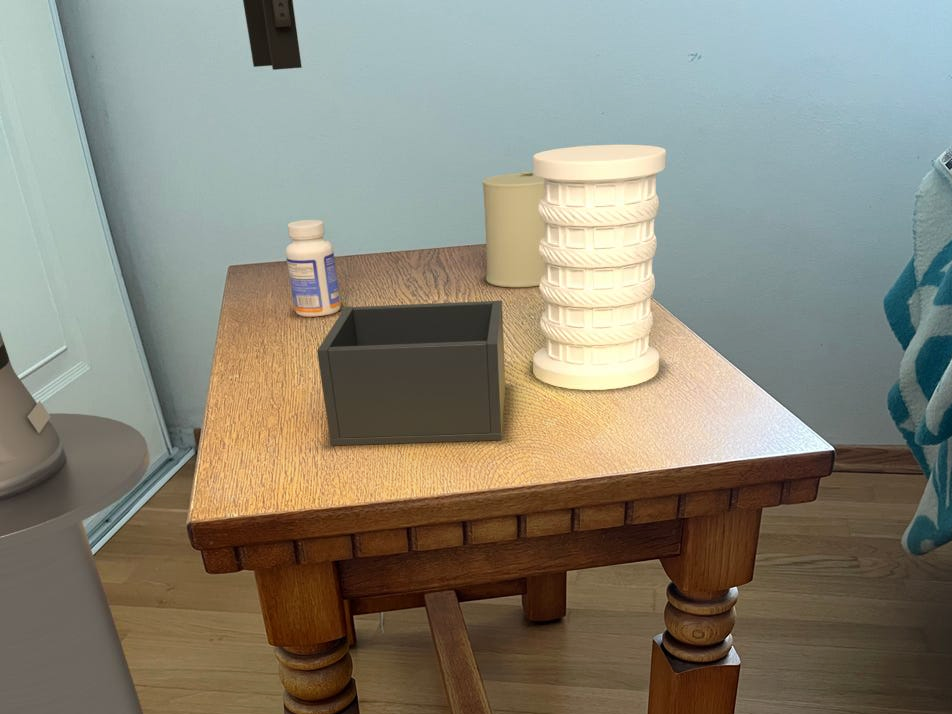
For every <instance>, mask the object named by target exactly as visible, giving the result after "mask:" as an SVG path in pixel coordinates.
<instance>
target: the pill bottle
mask: <svg viewBox="0 0 952 714" xmlns="http://www.w3.org/2000/svg"><path fill="white" fill-rule="evenodd" d="M287 231H288V232H287V233H288V236H289V239H290V240H291V243H289V244H288V245H287V246H286V248H285V257H286V264H287V265H286V266H287V271H288V276H289V283H290V289H291V295H292V302H293V307H294V310H295V313H296V314H297V315H298V316H301V317H305V318H308V317H309V318H313V317H314V318H316V317H325V316H329V315H333V314H335V313H337V312H339V311H340V309H341V296H340V290H339V283H338V275H337V267H336V261H335V254H334V248H333V245H332V244H331V242H330V241H328V240H325V239H324V237H325V233H326V231H325V226H324V222H323V221H322V220H321V219H301V220H295V221H292V222H289V223H288V224H287Z"/></svg>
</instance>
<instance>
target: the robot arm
mask: <svg viewBox="0 0 952 714" xmlns="http://www.w3.org/2000/svg"><path fill="white" fill-rule="evenodd" d="M242 3H243V8H244V15H245V22H246V28H247V36H248V40H249V41H248V42H249V46H250V53H251V58H252V65H253V68H257V67H258V68H259V67H271V69H272V70H273V71H276V70H289V69H290V70H291V69H302V68H303V66H302V60H301V51H300V45H299V37H298V29H297V23H296V22H297V21H296V16H295V8H294V1H293V0H242ZM1 332H2V331H0V501H1V500H4V499H7V498H9V497H12V496H15V495H17V494H20V493H22V492H25V491H27V490H29V489H31V488H33V487H35V486H37V485H39V484H41V483H42V482H44V481H46V480H47V479H49V478H50V477H51V476H53V475H54V474H55V473H56V472H57V471H58V470H59V469H60V468H61V467H62V465H63V464H64V462H65V458H66V457H65V452H64V449H63V446H62V443H61V440H60V437H59V435H58V434H57V432H56V430H55V428H54V426H53V425H52V424H51V423H50V422H49V418H50V415H49V414H50V413H49V412H48V410H47V409H46V408H45V406H44V405H43V403H42V402H41V400H39V401H38V402H37V401H36V400H35V397H33V396H32V394H31V393H30V391H29V390H28V389H27V387H26V386H25V384H24V383H23V382H22V380H21V378H20V377H19V376H18V374H17V373H16V372H15V370H14V367H13V365H12V363H11V360H10V357H9V353H8V350H7V348H6V345H5V342H4V339H3V335H2V333H1Z"/></svg>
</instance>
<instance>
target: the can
mask: <svg viewBox="0 0 952 714" xmlns="http://www.w3.org/2000/svg"><path fill="white" fill-rule="evenodd" d="M482 189H483V191H482V192H483V201H484V202H483V205H484V223H485V224H484V225H485V226H484V227H485V244H486V245H485V246H486V278H485V279H486V282H487V283H488V284H490V285H493V286H496V287H502V288H531V287H540V282H541V278H542V276H544V275H545V262H544V261H543V260H542V259H541V258H540V252H539V245H540V241H541V238H543V237H544V236H545V231H544V221H542V220H541V219H540V215H539V211H538V206H539V202H540V199H541V198H543V197H544V178H541V177H538V176H536V175H535V174H534V172H533V171H520V173H519V172H517V173H505V174H499V175H494V176H489V177H486V178H484V179H483V180H482Z"/></svg>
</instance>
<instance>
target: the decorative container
mask: <svg viewBox="0 0 952 714" xmlns="http://www.w3.org/2000/svg"><path fill="white" fill-rule="evenodd" d="M666 157H667V151H666V148H663V147H661V146H656V145H648V144H647V145H646V144H593V145H592V144H591V145H581V146H580V145H579V146H570V147H561V148H554V149H549V150H544V151H539V152H537V153H535V154H534V155H533V157H532V162H533V163H532V165H533V166H532V168H533V169H532V170H533V173H534V174H535V175H536V176H538V177H541V178H544V197H543V198H541V199H540V202H539V206H538V211H539V215H540V219H541V220H542V221H544V231H545V236H544V237H543V238H541V241H540V245H539V252H540V258H541V259H542V260H543V261H544V262H545V275H544V276H542V278H541V282H540V286H538V287H539V293H540V297H541V298H542V299H543V300H544V301H545V302H544V303H545V304H544V306H545V308H544V309H545V310H544V311H543V312H542V313H541V317H540V321H539V327H540V330H541V334H542V335H543V337H544V338H545V346H543V347H541V348H540V349H539V350H537V351H536V352H535V353H534V354H533V358H532V371H533V372H532V373H533V374H534V376H535V378H536V379H537V380H539V381H541V382H542V383H545V384H548V385H551V386H554V387H558V388H563V389H570V390H583V391H604V390H615V389H622V388H626V387H627V388H628V387H631V386H636V385H640V384H643V383H644V382H647V381H649V380H650V379H652V378H654V377H656V375H657V374H658V372H659V371H660V370H659V368H660V352H659V351H658V350H657V349H656V348H655V347H653V346H651V345H649V343H650V341H649V339H650V333H651V331H652V329H653V324H654V316H653V311H652V310H651V301H652V298H651V297H652V295H653V294H654V290H655V287H656V280H655V275H654V273H653V257H654V256H656V251H657V248H658V241H657V236H656V234H655V217H656V216H658V211H659V208H660V207H659V206H660V201H659V196H658V193H657V175H658V173H660V172H662V171H664V170H665V169H666Z"/></svg>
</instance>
